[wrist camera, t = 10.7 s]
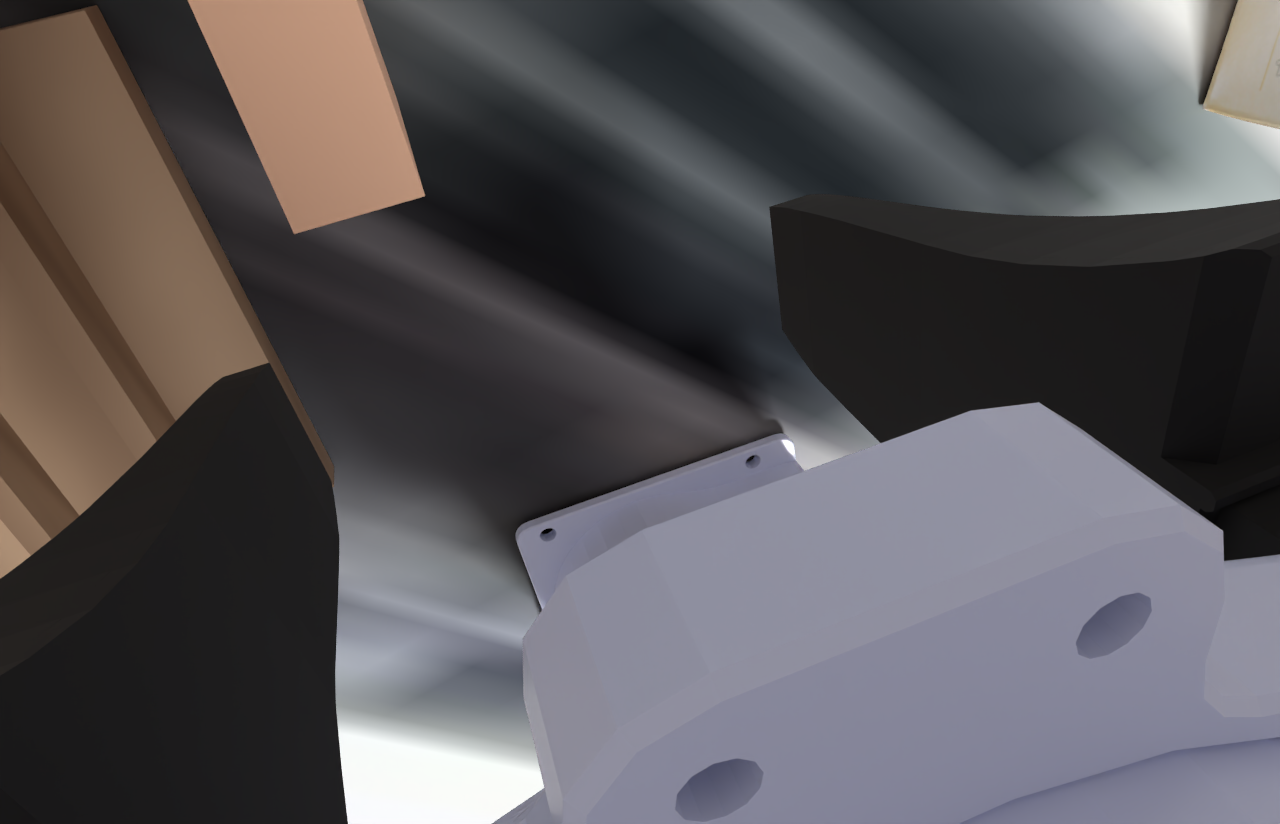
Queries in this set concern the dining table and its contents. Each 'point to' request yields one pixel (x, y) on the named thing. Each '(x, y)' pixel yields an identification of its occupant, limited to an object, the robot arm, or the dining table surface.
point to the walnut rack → (99, 281)
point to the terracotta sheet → (314, 104)
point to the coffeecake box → (1249, 66)
